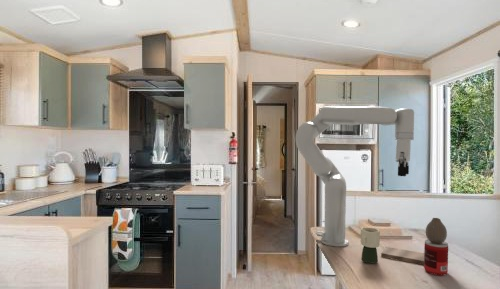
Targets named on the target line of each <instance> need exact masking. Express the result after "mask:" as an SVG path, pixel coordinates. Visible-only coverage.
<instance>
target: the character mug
mask: <svg viewBox="0 0 500 289" xmlns="http://www.w3.org/2000/svg"><path fill="white" fill-rule="evenodd" d="M380 233H381V232H380V229H378V228H375V227H368V226H367V227H365V226H364V227H363V226H362V227H361V228H360V241H359V242H360V245H361V246H363V247H362V252H361V258H360V259H361V261H362V262H366V263H367V264H369V263H370V264H377V263H378V262H379V261H378V260H379V258H378V250H377V249H378V247H380V241H381V240H380Z"/></svg>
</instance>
